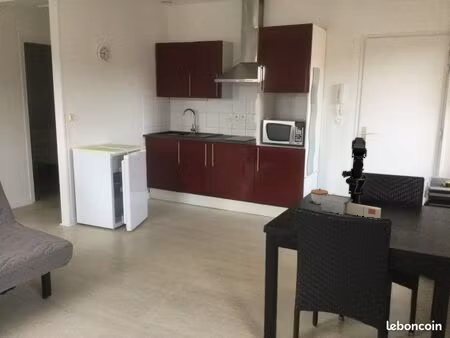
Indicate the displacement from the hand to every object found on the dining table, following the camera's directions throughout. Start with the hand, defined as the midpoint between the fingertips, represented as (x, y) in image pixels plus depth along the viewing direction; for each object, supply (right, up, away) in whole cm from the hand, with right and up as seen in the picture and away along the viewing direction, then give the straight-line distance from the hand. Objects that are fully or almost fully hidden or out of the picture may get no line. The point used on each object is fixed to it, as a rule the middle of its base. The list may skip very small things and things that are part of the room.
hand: (355, 192), depth 241 cm
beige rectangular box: (+2, -13, -5) cm, 14 cm away
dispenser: (-10, -11, +5) cm, 16 cm away
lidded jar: (-16, -8, +23) cm, 29 cm away
